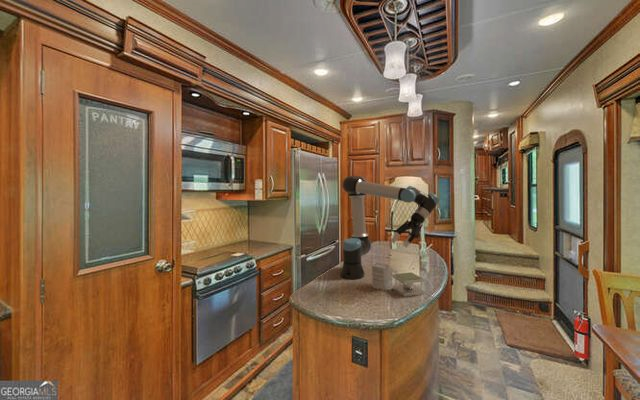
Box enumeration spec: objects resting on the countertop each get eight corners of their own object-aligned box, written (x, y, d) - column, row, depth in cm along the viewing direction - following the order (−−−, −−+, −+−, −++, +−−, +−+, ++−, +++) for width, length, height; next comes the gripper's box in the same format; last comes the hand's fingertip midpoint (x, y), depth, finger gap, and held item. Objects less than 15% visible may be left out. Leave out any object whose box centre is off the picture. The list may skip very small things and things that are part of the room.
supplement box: (378, 283, 159) (377, 262, 158) (389, 286, 154) (389, 264, 153) (371, 287, 153) (371, 265, 152) (384, 290, 148) (383, 267, 148)
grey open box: (404, 296, 139) (404, 280, 139) (392, 288, 151) (392, 273, 150) (424, 294, 142) (424, 278, 142) (411, 286, 154) (411, 271, 153)
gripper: (437, 222, 148) (415, 252, 144) (411, 218, 172) (391, 244, 168) (429, 213, 146) (405, 243, 143) (403, 211, 170) (383, 236, 167)
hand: (398, 244), depth 156 cm, fingers open, 13 cm apart
